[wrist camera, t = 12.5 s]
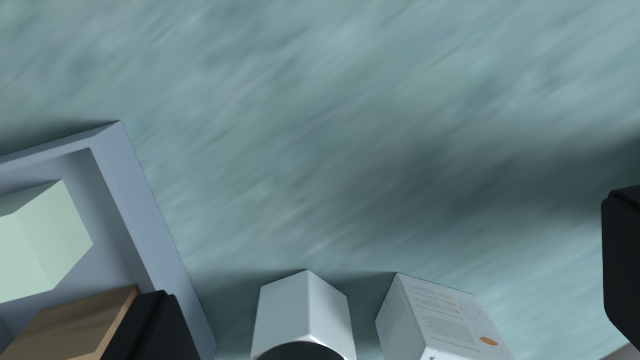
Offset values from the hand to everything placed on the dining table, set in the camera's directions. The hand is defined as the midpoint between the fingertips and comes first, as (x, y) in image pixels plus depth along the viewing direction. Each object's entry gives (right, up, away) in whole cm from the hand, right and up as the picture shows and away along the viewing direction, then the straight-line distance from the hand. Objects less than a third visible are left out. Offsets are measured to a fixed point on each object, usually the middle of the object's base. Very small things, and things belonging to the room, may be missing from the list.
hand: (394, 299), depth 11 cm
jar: (-3, -9, +34) cm, 36 cm away
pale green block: (-24, -1, +29) cm, 38 cm away
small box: (+8, -9, +34) cm, 37 cm away
